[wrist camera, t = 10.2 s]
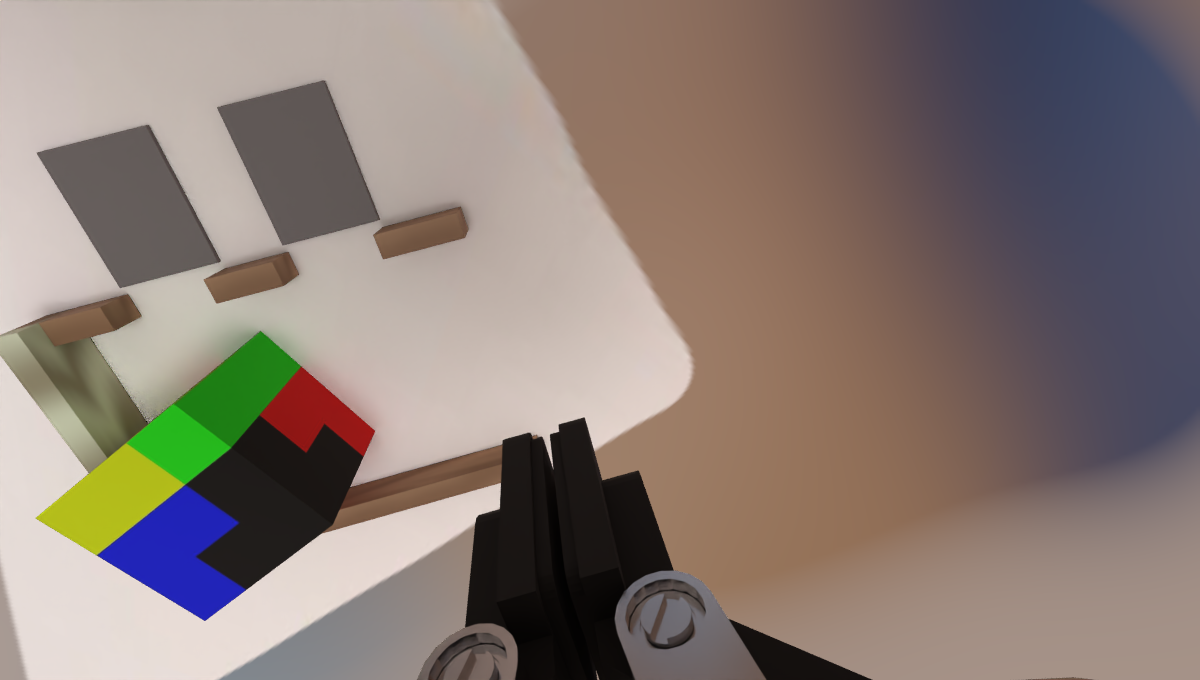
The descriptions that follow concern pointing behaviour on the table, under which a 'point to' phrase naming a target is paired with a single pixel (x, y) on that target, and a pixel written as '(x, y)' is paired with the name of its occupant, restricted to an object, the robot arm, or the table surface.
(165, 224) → the grey flat block
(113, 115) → the table surface
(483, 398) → the table surface
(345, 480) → the puzzle toy
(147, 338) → the table surface
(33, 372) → the trap box
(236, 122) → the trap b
